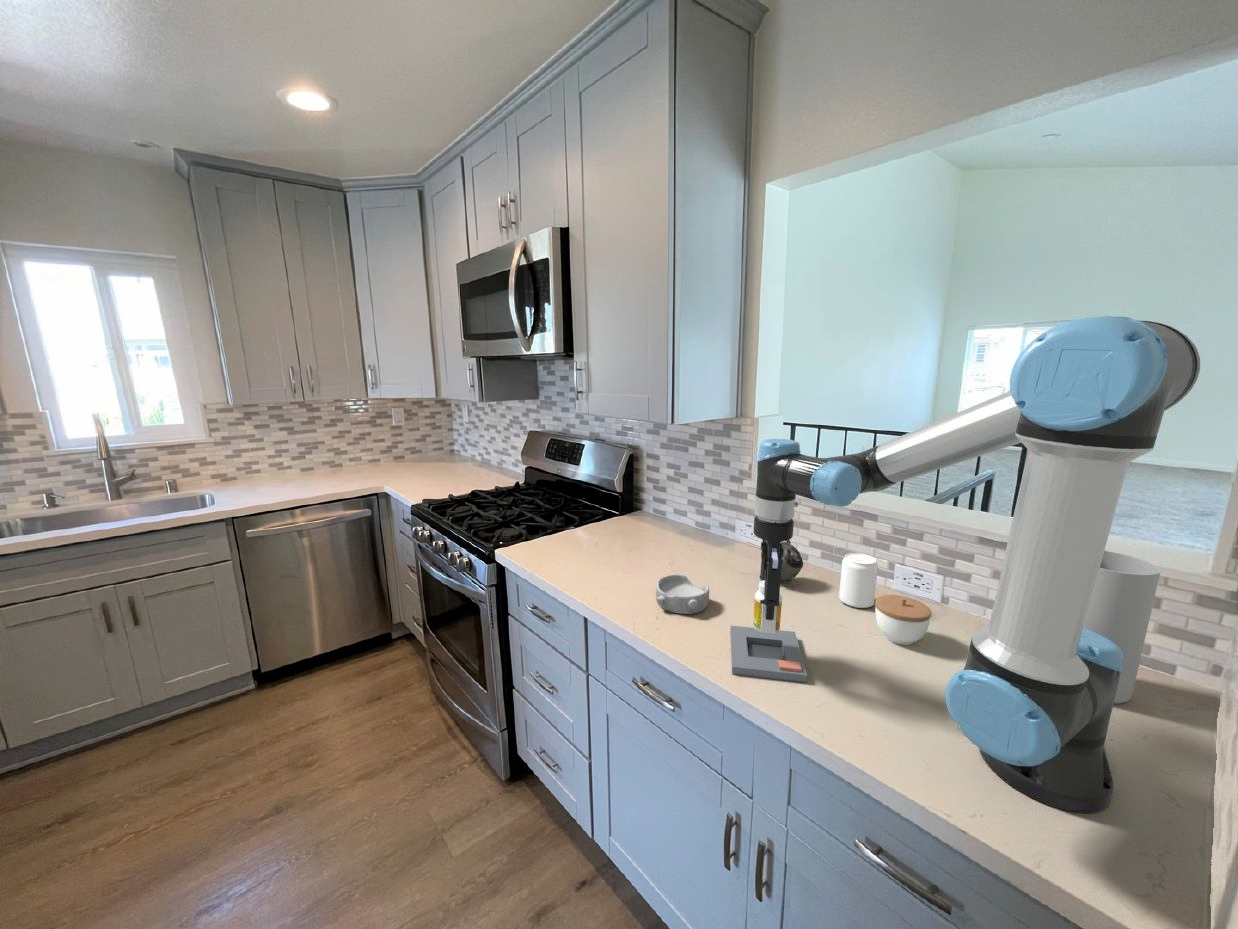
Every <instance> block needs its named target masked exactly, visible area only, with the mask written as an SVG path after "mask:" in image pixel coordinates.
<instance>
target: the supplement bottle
mask: <svg viewBox="0 0 1238 929" xmlns="http://www.w3.org/2000/svg"><path fill="white" fill-rule="evenodd" d="M764 589H765V580H763V581H761V580H760V581H759V582H758V591H756V592H755V595H754V603H753V619H752V626H753V628H755V629H756V630H758V631H759V632H761V619H762V605H763V604H761V603H760V600H764ZM782 606H783V597H782V595H781V594H779V606H777V614H776V627H775V633H776V632H778V631H779V630H780V629H781V618H782ZM762 633H763V632H762ZM766 634H773V633H766Z"/></svg>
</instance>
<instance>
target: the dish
mask: <svg viewBox="0 0 1238 929" xmlns="http://www.w3.org/2000/svg"><path fill="white" fill-rule="evenodd" d="M655 599H656V602H657V605H659V607H661V609H663V610H665V611H668V612H670V613H675V614H681V615H693V614H697V613H698V614H699V613H700V612H701V613H702V611H705V609H706V608H707V607H708V603H709V600H710V588H709V585H708V583H707V584H704V585H703V586H702V587H700V588H699V587H696V586H695V585H694V584H693V583H692V582H691V581H690V580H689V579H688V577H687V575H686V574H682V573H681V574H679V573H678V574H677V573H676V574H668V575H665V576H662V577H660V578H659V579H658V580H657V581H656V586H655Z"/></svg>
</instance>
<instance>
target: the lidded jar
mask: <svg viewBox="0 0 1238 929" xmlns="http://www.w3.org/2000/svg"><path fill="white" fill-rule="evenodd" d="M874 605H875V609H874V613H875V623H876V626H877V627H878V629H879V631H880V632H881V633H882V634H883V636H884V638H886V639H887V640H888V641H890V642H892V643H895V644H898V645H905V646H908V645H909V646H910V645H911V646H912V645H913V644H915V642H917V641H919V640H921V639H922V638H923V637H924V636H925V634H926V633H927V631H928V628H929V626H930V621H931V617H932V610H931V608H930V607H929V606H928V605H926V604H925V603H923V602H921V601H920V600H918V599H914V598H912V597H909V596H903V595H899V594H898V595H897V594H884V595H879V596H878V597H876V599H875V601H874Z"/></svg>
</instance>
